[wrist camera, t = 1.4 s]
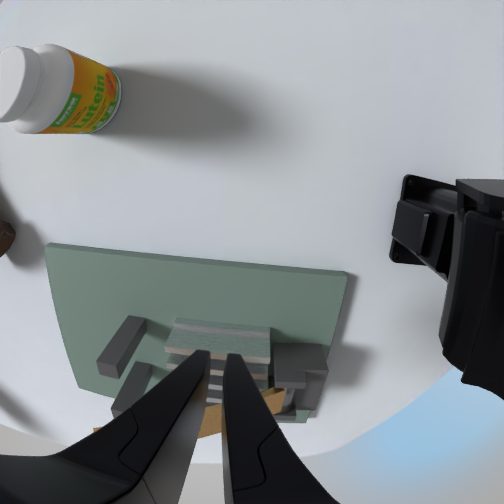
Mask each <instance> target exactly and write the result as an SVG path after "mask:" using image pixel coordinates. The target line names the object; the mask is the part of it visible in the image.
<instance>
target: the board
mask: <svg viewBox="0 0 504 504" xmlns="http://www.w3.org/2000/svg"><path fill="white" fill-rule="evenodd" d="M44 252H45V259H46V265H47V272H48V277H49V283H50V288H51V293H52V298H53V302H54V307H55V311H56V315H57V319H58V323H59V327H60V331H61V335H62V338H63V342H64V345H65V348H66V352H67V355H68V358H69V361H70V364H71V367H72V370H73V373H74V376H75V379H76V382H77V384H78V387H79V388H81V389H84V390H87V391H91V392H94V393H97V394H101V395H104V396H108V397H111V398H115V399H116V397H117V395H118V393H119V391H120V389H121V387H122V385H123V384H124V382H125V380H126V378H127V376H128V374H129V372H130V370H131V368H132V366H133V365H134V363H135V361H139V362H144V363H149V364H151V366H152V372H153V374H152V377H151V379H150V381H149V383H148V386H147V388H146V390H145V393H147V392H148V391H149V390H150V389H151V388H153V387H154V386H155V385H156V384H157V383H158V382H160V381H161V380H162V379H163V378H164V377H166V376H167V375H168V374H169V373H170V371H171V369H169V368H167V367H166V362H167V359H168V357H169V355H170V353H168V352H165V347H164V346H165V344H166V342H167V339H168V337H169V335H170V333H171V331H172V329H173V326H174V321H175V319H176V317H180V318H188V319H196V320H204V321H213V322H222V323H231V324H242V325H253V326H265V327H270V364H267V365H268V376H274V355H273V346H274V342H276V343H291V342H293V343H313V344H321V345H322V348H323V352H324V355H325V359H326V360H327V356H328V353H329V350H330V346H331V342H332V339H333V335H334V331H335V328H336V324H337V320H338V316H339V312H340V308H341V304H342V300H343V296H344V291H345V287H346V282H347V278H348V277H347V275H346V274H345V272H344V271H332V270H321V269H309V268H298V267H286V266H275V265H264V264H253V263H242V262H232V261H221V260H211V259H200V258H190V257H180V256H170V255H160V254H150V253H140V252H131V251H121V250H112V249H102V248H93V247H84V246H75V245H66V244H57V243H49V244H47V245H45V246H44ZM128 315H131V316H137V317H143V318H146V326H147V331H146V333H145V335H144V337H143V338H142V340H141V342H140V344H139V345H138V347H137V349H136V351H135V352H134V354H133V356H132V358H131V359H130V361H129V363H128V365H127V367H126V368H125V370H124V372H123V374H122V376H121V377H120V379H115V378H111V377H107V376H103V375H100V374H99V371H98V367H97V363H96V360H97V359H98V357H99V356H100V354H101V353H102V352H103V350H104V349H105V347H106V346H107V344H108V343H109V342H110V340H111V339H112V337H113V336H114V334H115V333H116V332H117V330H118V329H119V327H120V326H121V325H122V323H123V322H124V321H125V319H126V318H127V316H128ZM268 376H267V380H265V390H267V389H268ZM145 393H144V394H145ZM309 413H310V410H296V415H297V416H296V420H295V421H283V420H276V422H277V423H306V421H307V419H308V416H309Z"/></svg>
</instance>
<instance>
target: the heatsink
mask: <svg viewBox="0 0 504 504" xmlns="http://www.w3.org/2000/svg"><path fill="white" fill-rule="evenodd" d="M164 347H165V352H168V353H170V355H169V357H168V359H167V362H166V367H167V368H169V369H171V371H173V370H174V369H175V368H176V367H177V366H178V365H180V364H181V363H182V362H183V361H184V360H185V359H186V358H188V357H189V356H190V355H191V354H192V353H193V352H195V351H196V350H197V349H201V350H208V351H210V353H211V365H210V380H209V386H208V393H207V399H206V406H205V408H206V407H210V406H213V405H217V404H221V403H222V385H223V373H224V368H225V363H226V358H227V354H228V353H236V354H241V355H242V357H243V359H244V361H245V363H246V365H247V367H248V369H249V371H250V373H251V375H252V377H253V379H254V381H255V383H256V385H257V387H258V388H259V390H260V392H261V391H264V390H265V380H267V376H268V365H267V364H270V327H265V326H253V325H242V324H231V323H222V322H213V321H204V320H196V319H188V318H180V317H176V319H175V321H174V326H173V329H172V331H171V333H170V335H169V337H168V339H167V342H166V344H165V346H164ZM171 371H170V372H171Z"/></svg>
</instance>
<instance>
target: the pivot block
mask: <svg viewBox="0 0 504 504" xmlns="http://www.w3.org/2000/svg"><path fill="white" fill-rule="evenodd" d="M273 355H274V376H268V389H270V388H273V387H275V388H293V389H295V392H294V396H293V399H292V403H291V407H290V410H289V412H288V413H286V414H281V413H276V414H274V415H273V416H274V418H275V420H283V421H295V420H296V416H297V415H296V410H315V409H316V406H317V403H318V401H319V398H320V395H321V392H322V389H323V386H324V383H325V380H326V377H327V374H328V367H327V363H326V359H325V355H324V352H323V348H322V345H321V344H313V343H293V342H291V343H276V342H274V346H273Z"/></svg>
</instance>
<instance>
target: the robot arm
mask: <svg viewBox="0 0 504 504" xmlns="http://www.w3.org/2000/svg"><path fill="white" fill-rule="evenodd" d="M410 178H411V180H412V183H411V184H410V185H409V183H408V181H409V179H410ZM392 236H393V240H392V244H391V249H390V253H389V257H390V259H391V260H392V261H393V262H395V263H404V264H414V265H425V266H428V267H429V268H431V269H432V270H433V271H434V272H435V273H437V274H438V275H439V276H440V277H442V278H443V279H444V280H445V281H446V282H448V284H447V291H446V297H445V302H444V308H443V313H442V318H441V323H440V328H439V338H440V341H441V344H442V347H443V352H442V353H443V355H444V356H445V358H446V359H447V360H448V361H449V362H450V363H451V364H452V365H453V366H455V367H456V368H457V369H459V370H460V371H462V372H463V375H462V378H461V382H462V383H464V384H469V385H474V386H479V387H481V388H483V389H486V390H488V391H491V392H493V393H494V394H496V395H497V396H499V397H500V398H502V399H503V400H504V180H498V179H456V186H454V185H450V184H447V183H443V182H439V181H435V180H431V179H427V178H423V177H419V176H415V175H410V174H407V175H406V176H405V177H404V179H403V184H402V191H401V197H400V201H399V202H398V203H397V209H396V214H395V220H394V225H393V230H392ZM396 253H398V256H397V257H396V258H394V255H395V254H396ZM210 365H211V353H210V351H208V350H201V349H197V350H196V351H195V352H193V353H192V354H191V355H190V356H189V357H188V358H186V359H185V360H184V361H183V362H182V363H181V364H180V365H178V366H177V367H176V368H175V369H174V370H173V371H171V372H170V373H169V374H168V375H167V376H166V377H164V378H163V379H162V380H161V381H160V382H158V383H157V384H156V385H155V386H154V387H153V388H151V389H150V390H149V391H148V392H147V393H145V394H144V395H143V396H142V397H141V398H139V399H138V400H137V401H136V402H135V403H133V404H132V405H131V406H130V407H128V408H127V409H126V410H125V411H123V412H122V413H121V414H120V415H118V416H117V417H116V418H114V419H113V420H112V421H110V422H109V423H108V424H106V425H105V426H103V427H102V428H100V429H98V430H97V431H95V432H94V433H92V434H90V435H89V436H87V437H85V438H84V439H82V440H80V441H79V442H77V443H75V444H73V445H72V446H70V447H68V448H66V449H65V450H63V451H61V452H58V453H56V454H53V455H48V456H14V455H0V504H178V502H179V498H180V495H181V491H182V488H183V485H184V482H185V478H186V475H187V472H188V468H189V465H190V462H191V458H192V455H193V451H194V448H195V445H196V441H197V438H198V435H199V431H200V428H201V425H202V421H203V417H204V412H205V406H206V399H207V393H208V386H209V380H210ZM221 431H222V458H223V479H224V497H225V504H340V503H339V502H338V501H336V500H335V499H334V498H333V497H332V496H331V495H330V494H329V493H328V492H327V491H326V490H325V489H324V488H323V486H322V485H321V484H320V483H319V482H318V481H317V479H316V478H315V477H314V476H313V475H312V474H311V472H310V471H309V470H308V469H307V468H306V466H305V465H304V464H303V463H302V461H301V460H300V459H299V457H298V456H297V455H296V453H295V452H294V451H293V449H292V447H291V446H290V444H289V443H288V441H287V439H286V438H285V436H284V434H283V433H282V431H281V429H280V428H279V426H278V424H277V422H276V420H275V418H274V416H273V415H272V413H271V411H270V409H269V407H268V405H267V404H266V402H265V400H264V398H263V396H262V394H261V392H260V390H259V388H258V387H257V385H256V383H255V381H254V379H253V377H252V375H251V373H250V371H249V369H248V367H247V365H246V363H245V361H244V359H243V357H242V355H241V354H236V353H228V354H227V358H226V363H225V368H224V373H223V385H222V413H221Z"/></svg>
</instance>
